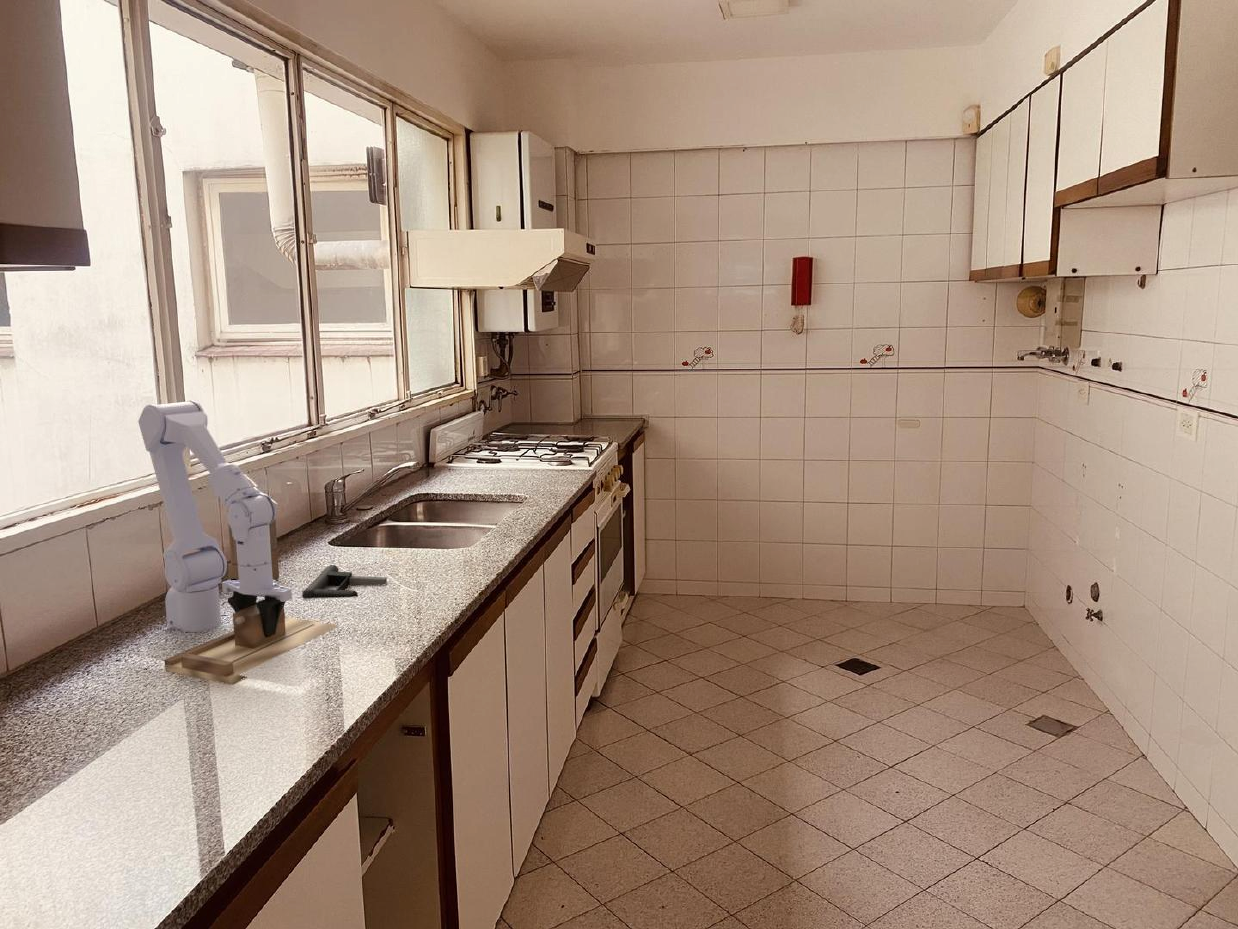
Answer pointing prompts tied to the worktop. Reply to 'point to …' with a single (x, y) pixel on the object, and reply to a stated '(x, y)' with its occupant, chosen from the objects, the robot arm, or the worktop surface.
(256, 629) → the block with white pegs
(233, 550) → the wooden block
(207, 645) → the board
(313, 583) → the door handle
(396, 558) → the worktop surface
